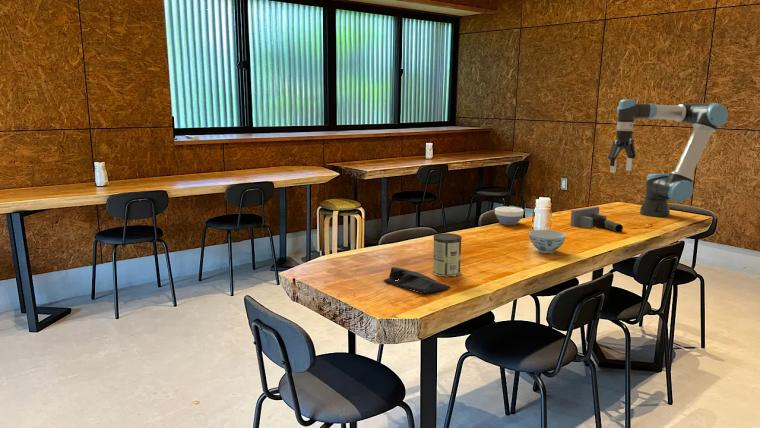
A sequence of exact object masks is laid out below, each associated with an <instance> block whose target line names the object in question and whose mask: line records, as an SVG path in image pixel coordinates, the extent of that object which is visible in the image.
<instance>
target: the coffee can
mask: <svg viewBox="0 0 760 428" xmlns="http://www.w3.org/2000/svg"><path fill="white" fill-rule="evenodd" d="M462 239H463V237H462V235H459V234H458V233H457V234H456V233H452V232H451V233H449V232H448V233H447V232H444V233H443V232H441V233H436V234H434V235H433V256H432V257H433V259H432V261H433V262H432V263H433V264H432V268H433V269H432V274H433V273H434V274H433V275H435V274H437V275H440V276H439V277H441V276H455V277H457V276H456V275H458V276H460V275H461V258H462V257H461V256H462V255H461V254H462ZM459 274H460V275H459ZM437 275H436V276H437Z"/></svg>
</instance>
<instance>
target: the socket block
mask: <svg viewBox="0 0 760 428" xmlns="http://www.w3.org/2000/svg"><path fill="white" fill-rule="evenodd" d="M570 214H571V215H570V226H571V227H583V228H587V229H592V228H593V225H594V223H593V218H594V217H595V216H599V217H600V216H601V217H603V218H604V219H606V220H607V215H605V214H601V213H600V206H591V207H583V208H578V209H572V210H571V213H570Z"/></svg>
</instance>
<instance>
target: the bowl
mask: <svg viewBox="0 0 760 428" xmlns="http://www.w3.org/2000/svg"><path fill="white" fill-rule="evenodd" d="M524 212H525V211H524V209H523V208H521V207H516V206H499V207H495V209H494V214H495V217H496V219H497V220H498V221H499V224H501V225H503V226H515V225H518V223H519V222H520V221H521V219H522V218H523V215H524Z"/></svg>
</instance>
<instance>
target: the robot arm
mask: <svg viewBox="0 0 760 428" xmlns="http://www.w3.org/2000/svg"><path fill="white" fill-rule="evenodd" d="M616 108H617V109H616V113H617V122H616V123H617V124H616V133H615V134H616V135H615V137H616V138H617V140H616V139H615V140H613V141H612V146H611V149H610V152H609V154H608V156H607V159H608V160H610V169H609V173H612V174H613V173H614V174H616V171H617V163H618V161H617V158H618V156H619V155H620V152H621V151H622V150H624V152H625V154H626V156H627V157H626V163H625V171H627V172H632V168H633V159H635V158H636V157H637V156H636V150H635V149H636V148H635V144H634V143H635V142H634V139H632V138H633V133H634V132H633V130H634V120H635V119H646V120H672V121H675V122H676V123H685V124H690V125H691V126H692V128H693V129H692V132H691V133H690V137H689V138H688V141H687V143H686V145H685V148H684V149H683V151H682V154H681V155H680V158H679V160H678V162H677V164H676V167H675V169H674V170H673V171H671V172H669V173H650V174H648V175H647V176H646V177H647V178H646V181H645V195H644V201H643V203H642V204H641V206H640V209H639V213H640V214H641V215H643V216H649V217H654V218H655V217H657V218H665V217H667V218H668V217H670V215H671V210H670V207H669V206H670V205H669V201H670V200H671V201H672V202H684V201H687V200H688V199H690V197H691V196H692V195H693V193H694V185H693V181H694V179H693V177H692V176H693V174H694V171H695V170H696V167H697V165H698V163H699V161H700V159H701V157H702V154H703V153H704V150H705V148H706V146H707V144H708V142H709V139H710V138H711V135H713V134H714V133H716V132H717V130H718V128H719V127H721V126H723V125H725V124H726V123H727V121H728V118H729V113H728V111H727V108H726V107H725V105H723V104H722V103H716V102H711V103H710V102H695V103H686V104H685V103H679V104H677V105H670V104H669V105H667V104H654V103H650V102H649V103H636V100H635V99H621V100H620V101H619V104H618V106H617V107H616ZM668 200H669V201H668Z"/></svg>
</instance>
